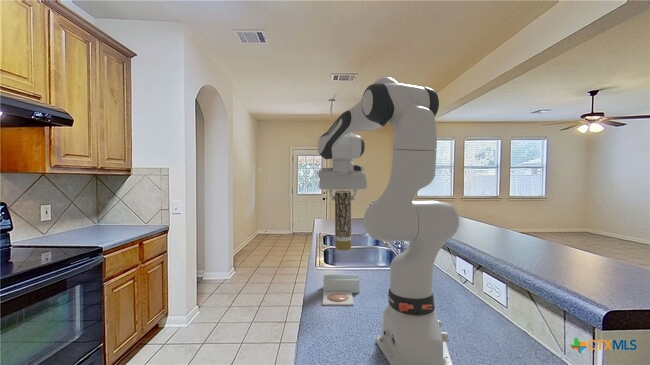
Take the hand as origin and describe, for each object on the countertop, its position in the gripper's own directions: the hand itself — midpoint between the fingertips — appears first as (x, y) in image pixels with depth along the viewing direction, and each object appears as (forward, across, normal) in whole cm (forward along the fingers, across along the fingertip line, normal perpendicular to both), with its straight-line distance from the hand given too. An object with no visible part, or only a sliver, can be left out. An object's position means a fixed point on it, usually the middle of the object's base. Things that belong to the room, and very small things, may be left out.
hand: (342, 200), depth 135 cm
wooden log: (+21, 0, +1) cm, 21 cm away
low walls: (+35, -1, -8) cm, 36 cm away
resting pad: (+35, -3, -18) cm, 40 cm away
